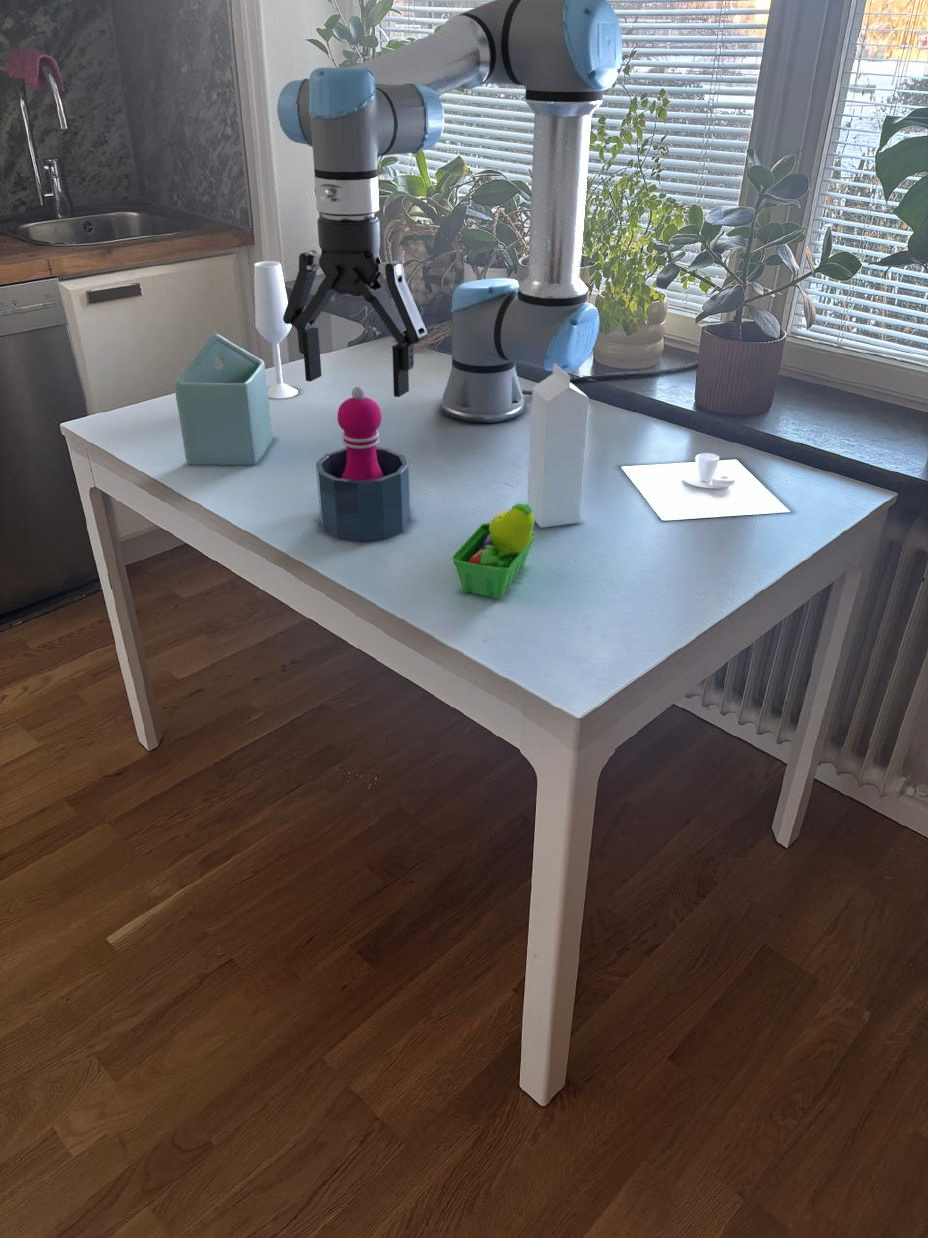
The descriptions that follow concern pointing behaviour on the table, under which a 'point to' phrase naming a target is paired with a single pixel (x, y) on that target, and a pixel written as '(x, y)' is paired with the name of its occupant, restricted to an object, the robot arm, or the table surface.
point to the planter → (224, 406)
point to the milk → (556, 450)
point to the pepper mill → (360, 436)
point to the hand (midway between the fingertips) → (356, 386)
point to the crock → (363, 498)
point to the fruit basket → (496, 552)
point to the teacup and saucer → (702, 489)
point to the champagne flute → (272, 317)
